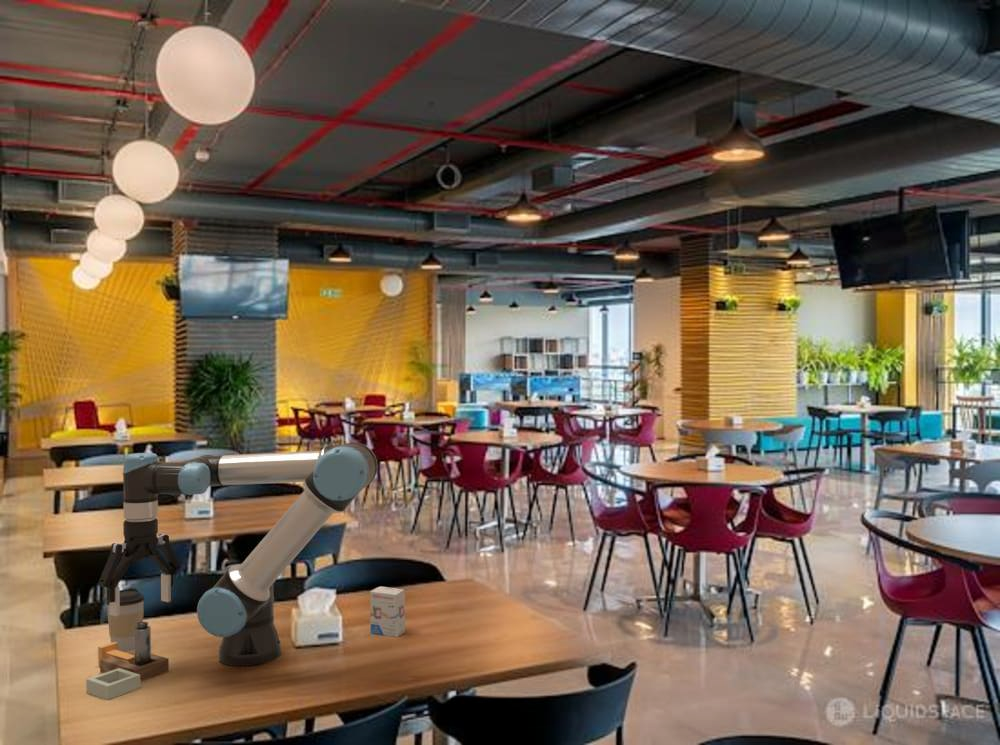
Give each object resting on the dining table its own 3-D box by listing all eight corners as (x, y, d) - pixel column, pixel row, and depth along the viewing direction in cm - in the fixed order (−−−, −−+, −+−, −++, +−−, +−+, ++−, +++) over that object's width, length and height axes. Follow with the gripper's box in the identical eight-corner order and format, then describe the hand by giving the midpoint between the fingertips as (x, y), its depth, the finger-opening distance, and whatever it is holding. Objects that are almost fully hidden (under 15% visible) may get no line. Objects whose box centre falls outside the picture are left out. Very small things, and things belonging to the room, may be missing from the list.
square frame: (140, 687, 191) (140, 674, 191) (107, 699, 184) (107, 686, 184) (119, 680, 195) (119, 668, 195) (86, 692, 188) (86, 679, 188)
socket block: (168, 671, 201) (168, 658, 201) (134, 683, 194) (134, 670, 194) (134, 660, 208) (134, 648, 208) (100, 672, 201) (100, 659, 201)
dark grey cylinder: (154, 673, 200) (153, 622, 200) (140, 678, 197) (140, 626, 197) (144, 670, 202) (144, 619, 202) (131, 675, 199) (130, 623, 199)
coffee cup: (130, 656, 212) (129, 597, 211) (98, 654, 213) (98, 595, 213) (152, 644, 221) (151, 587, 220) (121, 642, 222) (121, 585, 222)
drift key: (140, 667, 203) (140, 649, 203) (124, 673, 200) (124, 654, 200) (114, 659, 209) (114, 641, 209) (98, 664, 205) (98, 646, 205)
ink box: (369, 633, 228) (368, 590, 228) (378, 628, 233) (378, 585, 233) (396, 637, 225) (396, 593, 225) (405, 631, 230) (405, 588, 229)
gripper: (175, 509, 211) (175, 593, 212) (81, 525, 190) (81, 618, 191) (195, 512, 207) (195, 597, 208) (100, 529, 186) (101, 624, 187)
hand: (141, 608), depth 199 cm, fingers open, 13 cm apart
